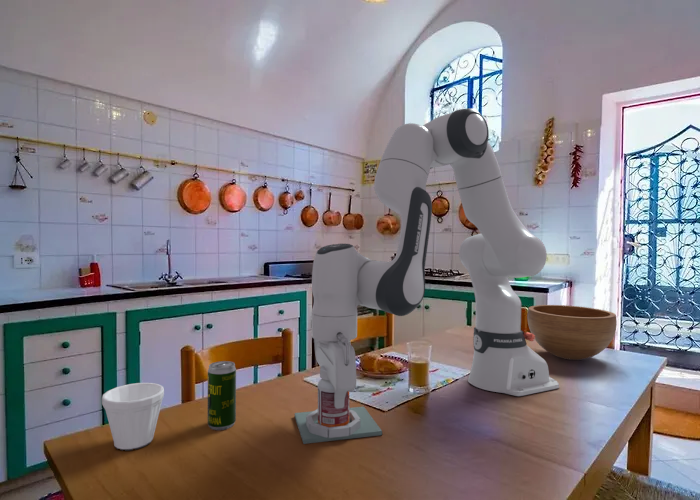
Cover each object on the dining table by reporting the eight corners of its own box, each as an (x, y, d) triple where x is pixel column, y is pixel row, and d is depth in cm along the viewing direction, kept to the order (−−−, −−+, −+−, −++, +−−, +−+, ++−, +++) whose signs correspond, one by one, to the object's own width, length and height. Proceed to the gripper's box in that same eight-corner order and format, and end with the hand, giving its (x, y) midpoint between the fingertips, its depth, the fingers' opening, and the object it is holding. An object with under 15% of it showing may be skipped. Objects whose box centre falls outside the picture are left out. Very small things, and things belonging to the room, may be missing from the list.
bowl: (515, 347, 149) (516, 304, 148) (588, 348, 148) (590, 305, 147) (545, 369, 124) (546, 317, 123) (633, 371, 123) (635, 319, 122)
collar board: (363, 410, 93) (363, 399, 93) (382, 436, 81) (383, 424, 81) (294, 416, 89) (294, 405, 89) (303, 445, 77) (303, 432, 77)
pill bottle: (355, 427, 82) (355, 368, 82) (327, 434, 79) (327, 374, 79) (338, 415, 88) (338, 361, 87) (312, 422, 84) (312, 365, 84)
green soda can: (220, 417, 88) (220, 359, 88) (241, 422, 86) (241, 363, 86) (201, 427, 83) (201, 366, 83) (223, 433, 81) (223, 370, 81)
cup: (94, 460, 71) (94, 405, 70) (110, 433, 80) (109, 384, 80) (160, 452, 73) (160, 399, 73) (167, 427, 83) (167, 380, 83)
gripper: (365, 339, 73) (364, 418, 74) (338, 317, 93) (337, 380, 94) (329, 341, 72) (329, 422, 72) (309, 318, 92) (309, 382, 92)
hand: (333, 398), depth 83 cm, fingers open, 7 cm apart
